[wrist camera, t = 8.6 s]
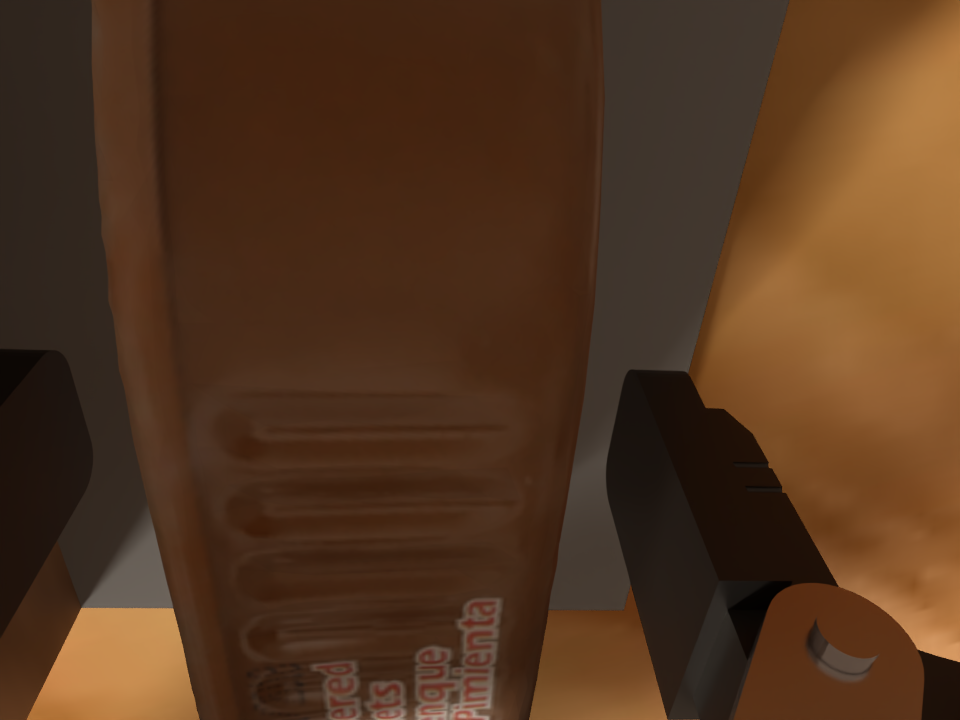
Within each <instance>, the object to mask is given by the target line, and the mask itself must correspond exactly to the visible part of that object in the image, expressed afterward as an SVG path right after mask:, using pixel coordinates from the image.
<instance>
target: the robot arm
mask: <svg viewBox="0 0 960 720" xmlns="http://www.w3.org/2000/svg"><path fill="white" fill-rule="evenodd" d="M768 463H769V462H768V461H767V459H766V457H765V455H764V453H763V452H762V450H761V448H760V446H759V445H758V443H757V441H756V439H755V437H754V436H753V434H752V433H751V432H750V431H749V430H747V429H746V428H745V427H744V426H743V425H742V424H741V423H739V422H738V421H737V420H736V419H735V418H734V417H732V416H731V415H730V414H729V413H728V412H727V411H725V410H724V409H712V408H705V406H704V404H703V402H702V400H701V398H700V396H699V394H698V392H697V390H696V388H695V386H694V384H693V382H692V380H691V378H690V376H689V375H688V373H687V372H685V371H668V370H635V369H631V370H629V371H628V372H627V374H626V376H625V378H624V382H623V385H622V390H621V395H620V399H619V404H618V409H617V413H616V418H615V423H614V427H613V432H612V437H611V441H610V446H609V451H608V456H607V463H606V489H607V496H608V501H609V505H610V509H611V513H612V516H613V520H614V524H615V527H616V531H617V535H618V538H619V542H620V546H621V549H622V553H623V557H624V561H625V564H626V568H627V572H628V575H629V579H630V583H631V586H632V590H633V594H634V597H635V601H636V605H637V608H638V612H639V616H640V620H641V623H642V627H643V631H644V634H645V638H646V642H647V645H648V649H649V653H650V656H651V660H652V664H653V667H654V671H655V675H656V679H657V682H658V686H659V690H660V693H661V697H662V701H663V704H664V708H665V712H666V715H667V719H668V720H696V719H700V720H960V662H957V661H953V660H949V659H946V658H942V657H939V656H935V655H932V654H929V653H926V652H923V651H920V650H917V648H916V646H915V644H914V643H913V641H912V640H911V638H910V637H909V635H908V634H907V633H906V632H905V630H904V629H903V628H902V627H901V626H900V625H899V624H898V623H897V622H896V621H895V620H894V619H893V618H892V617H891V616H890V615H889V614H887V613H886V612H885V611H884V610H882V609H881V608H880V607H878V606H877V605H875V604H874V603H872V602H870V601H869V600H867V599H866V598H864V597H862V596H860V595H857V594H855V593H853V592H851V591H848V590H845V589H843V588H840V587H838V585H837V583H836V581H835V579H834V578H833V576H832V574H831V572H830V571H829V569H828V567H827V565H826V564H825V562H824V560H823V558H822V556H821V555H820V553H819V551H818V549H817V548H816V546H815V544H814V542H813V540H812V539H811V537H810V535H809V533H808V532H807V530H806V528H805V526H804V524H803V523H802V521H801V519H800V517H799V516H798V514H797V512H796V510H795V508H794V507H793V505H792V503H791V501H790V500H789V498H788V496H787V494H786V493H782V485H781V484H780V482H779V480H778V478H777V477H776V475H775V473H774V471H773V469H772V468H769V467H768ZM92 467H93V448H92V442H91V439H90V435H89V432H88V428H87V425H86V421H85V418H84V415H83V411H82V408H81V404H80V401H79V397H78V394H77V390H76V387H75V384H74V380H73V377H72V373H71V370H70V367H69V364H68V362H67V360H66V358H65V357H64V355H63V354H62V353H60V352H59V351H56V350H31V349H0V638H1V637H2V635H3V633H4V631H5V630H6V628H7V626H8V625H9V623H10V621H11V619H12V618H13V616H14V614H15V612H16V611H17V609H18V607H19V606H20V604H21V602H22V600H23V599H24V597H25V595H26V593H27V592H28V590H29V588H30V587H31V585H32V583H33V581H34V580H35V578H36V576H37V574H38V573H39V571H40V569H41V567H42V566H43V564H44V562H45V561H46V559H47V557H48V555H49V554H50V552H51V550H52V548H53V547H54V545H55V543H56V542H57V540H58V538H59V536H60V535H61V533H62V531H63V529H64V528H65V526H66V524H67V523H68V521H69V519H70V517H71V516H72V514H73V512H74V510H75V509H76V507H77V505H78V503H79V502H80V500H81V498H82V497H83V495H84V493H85V491H86V489H87V487H88V484H89V481H90V478H91V473H92Z"/></svg>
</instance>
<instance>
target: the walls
mask: <svg viewBox="0 0 960 720" xmlns="http://www.w3.org/2000/svg"><path fill="white" fill-rule="evenodd" d="M80 609H81V605H80V602H79V600H78V597H77V594H76V591H75V589H74V586H73V583H72V580H71V577H70V575H69V572H68V569H67V566H66V563H65V561H64V558H63V555H62V552H61V549H60V547H59V544H58V541H57V542H56V543H55V545H54V547H53V548H52V550H51V552H50V554H49V555H48V557H47V559H46V561H45V562H44V564H43V566H42V567H41V569H40V571H39V573H38V574H37V576H36V578H35V580H34V581H33V583H32V585H31V587H30V588H29V590H28V592H27V593H26V595H25V597H24V599H23V600H22V602H21V604H20V606H19V607H18V609H17V611H16V612H15V614H14V616H13V618H12V619H11V621H10V623H9V625H8V626H7V628H6V630H5V631H4V633H3V635H2V637H1V638H0V720H26V719H27V717H28V715H29V713H30V711H31V709H32V707H33V705H34V703H35V701H36V699H37V697H38V695H39V693H40V691H41V689H42V687H43V685H44V683H45V681H46V679H47V677H48V675H49V673H50V670H51V668H52V666H53V664H54V662H55V660H56V658H57V656H58V654H59V652H60V650H61V648H62V646H63V644H64V642H65V640H66V638H67V636H68V634H69V632H70V630H71V628H72V626H73V624H74V622H75V620H76V618H77V616H78V614H79V611H80Z"/></svg>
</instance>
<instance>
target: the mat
mask: <svg viewBox="0 0 960 720" xmlns="http://www.w3.org/2000/svg"><path fill="white" fill-rule="evenodd" d="M788 4H789V0H601V10H602V36H603V63H604V89H605V107H604V132H603V158H602V183H601V209H600V228H599V244H598V259H597V275H596V291H595V305H594V314H593V323H592V332H591V340H590V349H589V358H588V367H587V376H586V385H585V394H584V401H583V407H582V413H581V419H580V425H579V431H578V437H577V443H576V450H575V456H574V462H573V468H572V474H571V480H570V486H569V492H568V499H567V505H566V510H565V516H564V521H563V527H562V532H561V538H560V543H559V551H558V561H557V568H556V572H555V577H554V581H553V586H552V590H551V596H550V603H549V610H624V607H625V604H626V600H627V596H628V593H629V589H630V585H631V583H630V579H629V575H628V572H627V568H626V564H625V561H624V557H623V553H622V549H621V546H620V542H619V538H618V535H617V531H616V527H615V524H614V520H613V516H612V513H611V509H610V505H609V501H608V496H607V489H606V463H607V456H608V451H609V446H610V441H611V437H612V432H613V427H614V423H615V418H616V413H617V409H618V404H619V399H620V395H621V390H622V385H623V382H624V378H625V376H626V374H627V372H628V371H629V370H631V369H635V370H668V371H685V372H687V373H688V372H689V368H690V364H691V361H692V357H693V353H694V350H695V346H696V342H697V339H698V335H699V331H700V328H701V324H702V320H703V317H704V313H705V309H706V306H707V302H708V298H709V294H710V291H711V287H712V283H713V280H714V276H715V272H716V269H717V265H718V261H719V258H720V254H721V250H722V247H723V243H724V239H725V236H726V232H727V228H728V225H729V221H730V217H731V214H732V210H733V206H734V202H735V199H736V195H737V191H738V188H739V184H740V180H741V177H742V173H743V169H744V166H745V162H746V158H747V155H748V151H749V147H750V144H751V140H752V136H753V133H754V129H755V125H756V122H757V118H758V114H759V110H760V107H761V103H762V99H763V96H764V92H765V88H766V85H767V81H768V77H769V74H770V70H771V66H772V63H773V59H774V55H775V52H776V48H777V44H778V41H779V37H780V33H781V30H782V26H783V22H784V19H785V15H786V11H787V7H788ZM101 220H102V215H101V209H100V203H99V190H98V167H97V156H96V145H95V126H94V103H93V80H92V2H91V0H0V349H31V350H56V351H59V352H60V353H62V354H63V355H64V357H65V358H66V360H67V362H68V364H69V367H70V370H71V373H72V377H73V380H74V384H75V387H76V390H77V394H78V397H79V401H80V404H81V408H82V411H83V415H84V418H85V421H86V425H87V428H88V432H89V435H90V439H91V442H92V448H93V467H92V473H91V478H90V481H89V484H88V487H87V489H86V491H85V493H84V495H83V497H82V498H81V500H80V502H79V503H78V505H77V507H76V509H75V510H74V512H73V514H72V516H71V517H70V519H69V521H68V523H67V524H66V526H65V528H64V529H63V531H62V533H61V535H60V536H59V538H58V540H57V541H58V544H59V547H60V549H61V552H62V555H63V558H64V561H65V563H66V566H67V569H68V572H69V575H70V577H71V580H72V583H73V586H74V589H75V591H76V594H77V597H78V600H79V602H80V605H81V608H173V605H172V601H171V597H170V593H169V589H168V585H167V581H166V577H165V573H164V568H163V564H162V560H161V556H160V551H159V547H158V543H157V539H156V534H155V530H154V526H153V523H152V519H151V515H150V511H149V507H148V502H147V498H146V494H145V489H144V485H143V481H142V476H141V472H140V468H139V463H138V459H137V455H136V450H135V446H134V442H133V437H132V431H131V425H130V419H129V413H128V407H127V401H126V395H125V389H124V385H123V382H122V378H121V375H120V372H119V364H118V353H117V345H116V336H115V328H114V320H113V314H112V311H111V308H110V304H109V301H108V270H107V261H106V252H105V247H104V243H103V239H102V235H101Z"/></svg>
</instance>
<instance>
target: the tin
mask: <svg viewBox="0 0 960 720" xmlns="http://www.w3.org/2000/svg"><path fill="white" fill-rule="evenodd" d="M91 2H92V80H93V103H94V126H95V145H96V156H97V167H98V190H99V203H100V209H101V215H102V220H101V235H102V239H103V243H104V247H105V252H106V261H107V270H108V301H109V304H110V308H111V311H112V314H113V320H114V328H115V336H116V345H117V353H118V364H119V372H120V375H121V378H122V382H123V385H124V389H125V395H126V401H127V407H128V413H129V419H130V425H131V431H132V437H133V442H134V446H135V450H136V455H137V459H138V463H139V468H140V472H141V476H142V481H143V485H144V489H145V494H146V498H147V502H148V507H149V511H150V515H151V519H152V523H153V526H154V530H155V534H156V539H157V543H158V547H159V551H160V556H161V560H162V564H163V568H164V573H165V577H166V581H167V585H168V589H169V593H170V597H171V601H172V605H173V608H174V612H175V616H176V620H177V624H178V628H179V632H180V636H181V640H182V644H183V648H184V653H185V658H186V663H187V668H188V673H189V677H190V682H191V686H192V690H193V694H194V697H195V701H196V707H197V711H198V714H199V718H200V720H529V717H530V712H531V706H532V701H533V696H534V691H535V686H536V681H537V675H538V669H539V662H540V656H541V651H542V645H543V640H544V634H545V629H546V623H547V616H548V610H549V603H550V596H551V590H552V586H553V581H554V577H555V572H556V568H557V561H558V551H559V543H560V538H561V532H562V527H563V521H564V516H565V510H566V505H567V499H568V492H569V486H570V480H571V474H572V468H573V462H574V456H575V450H576V443H577V437H578V431H579V425H580V419H581V413H582V407H583V401H584V394H585V385H586V376H587V367H588V358H589V349H590V340H591V332H592V323H593V314H594V305H595V291H596V275H597V259H598V244H599V228H600V209H601V183H602V158H603V132H604V107H605V89H604V63H603V36H602V10H601V0H91Z"/></svg>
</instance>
